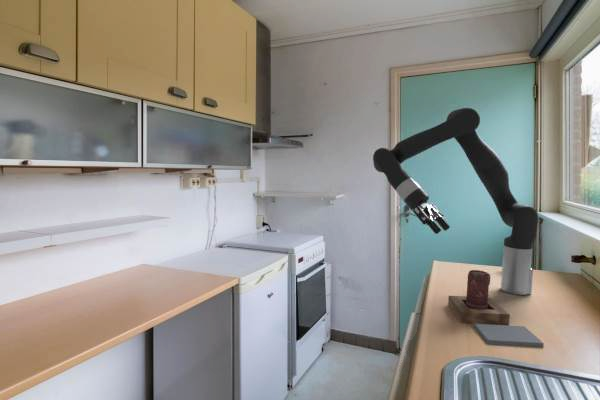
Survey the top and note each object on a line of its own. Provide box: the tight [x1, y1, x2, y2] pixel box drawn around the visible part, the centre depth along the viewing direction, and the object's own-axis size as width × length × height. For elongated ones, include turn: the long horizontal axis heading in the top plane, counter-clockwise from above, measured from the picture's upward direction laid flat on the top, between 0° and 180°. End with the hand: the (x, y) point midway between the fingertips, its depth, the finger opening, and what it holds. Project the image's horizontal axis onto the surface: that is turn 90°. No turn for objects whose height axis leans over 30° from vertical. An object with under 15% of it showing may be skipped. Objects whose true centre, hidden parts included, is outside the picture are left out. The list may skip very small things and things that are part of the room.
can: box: [466, 269, 491, 309], centre depth 114 cm, size 6×6×14 cm
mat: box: [473, 324, 545, 348], centre depth 101 cm, size 14×10×1 cm
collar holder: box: [447, 295, 511, 326], centre depth 115 cm, size 14×14×4 cm
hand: (443, 230), depth 120 cm, fingers open, 8 cm apart
